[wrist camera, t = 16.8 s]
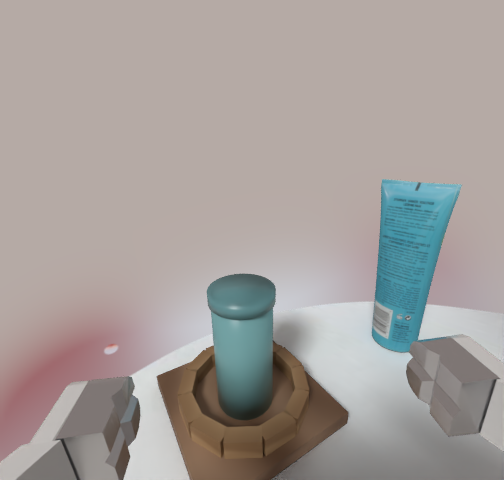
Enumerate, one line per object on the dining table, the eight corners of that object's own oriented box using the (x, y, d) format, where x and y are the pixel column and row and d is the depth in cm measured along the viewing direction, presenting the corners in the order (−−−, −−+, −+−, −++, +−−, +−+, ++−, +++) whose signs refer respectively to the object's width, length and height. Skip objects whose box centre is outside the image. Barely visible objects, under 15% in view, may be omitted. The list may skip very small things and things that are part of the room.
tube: (432, 344, 33) (467, 181, 27) (419, 365, 30) (456, 186, 24) (370, 318, 38) (388, 177, 32) (354, 335, 35) (370, 181, 29)
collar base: (264, 339, 34) (263, 320, 33) (347, 423, 24) (349, 398, 23) (158, 385, 28) (154, 363, 27) (206, 526, 17) (202, 497, 16)
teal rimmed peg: (255, 364, 29) (253, 268, 25) (286, 403, 24) (289, 294, 21) (207, 386, 26) (197, 283, 23) (231, 434, 22) (224, 316, 18)
